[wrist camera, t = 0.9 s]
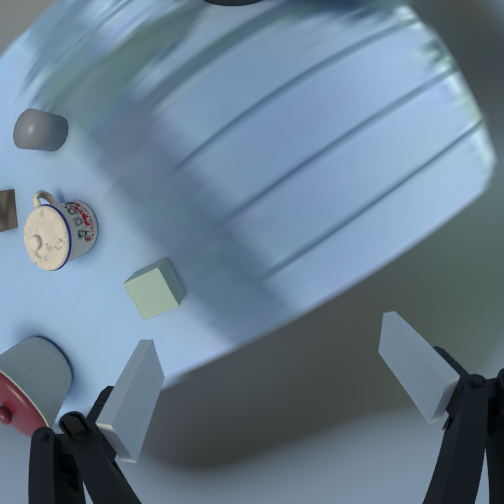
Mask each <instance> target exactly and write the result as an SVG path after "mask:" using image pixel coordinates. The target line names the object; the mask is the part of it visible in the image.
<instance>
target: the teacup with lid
mask: <svg viewBox="0 0 504 504" xmlns="http://www.w3.org/2000/svg"><path fill="white" fill-rule="evenodd" d="M39 197H40V198H44V199H45V200H47V201H48V202H49V203H50V205H48V204H44V205H41V203H40V200H39ZM33 205H34V207H35V209H34V210H33V211H32V212H31V213H30V215H29V216H28V218H27V220H26V223H25V228H24V241H25V246H26V249H27V252H28V254H29V256H30V258H31V259H32V260H33V262H34V263H35V264H36V265H37V266H39V267H40V268H42V269H44V270H48V271H55V270H58V269H60V268H62V267H63V266H64V265H65V264H66V263H67V262H69V261H71V260H73V259H75V258H77V257H79V256H80V255H82V254H84V253H86V252H88V251H89V250H90V249H91V248H92V247H93V245H94V243H95V241H96V238H97V233H98V226H97V221H96V217H95V215H94V213H93V211H92V210H91V209H90V207H89V206H87V205H86V204H85V203H83V202H80V201H70V202H64V203H57V201H56V199H55V198H54V197H53V196H52V195H51V194H50V193H48V192H46V191H42V190H41V191H37V192H36V193H35V194H34V196H33Z"/></svg>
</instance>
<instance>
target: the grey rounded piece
mask: <svg viewBox="0 0 504 504" xmlns="http://www.w3.org/2000/svg"><path fill="white" fill-rule="evenodd" d="M67 135H68V123H67V121H66V119H65V118H63V117H61V116H57V115H54V114H50V113H47V112H43V111H40V110H36V109H27V110H25V111H24V112H23V113H22V114H21V115H20V116H19V118H18V120H17V122H16V124H15V127H14V132H13V139H14V143H15V145H16V146H17V147H18V148H20V149H32V150H44V151H55V150H57V149H59V148H60V147H61V146H62V145H63V144H64V142H65V140H66V138H67Z"/></svg>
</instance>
